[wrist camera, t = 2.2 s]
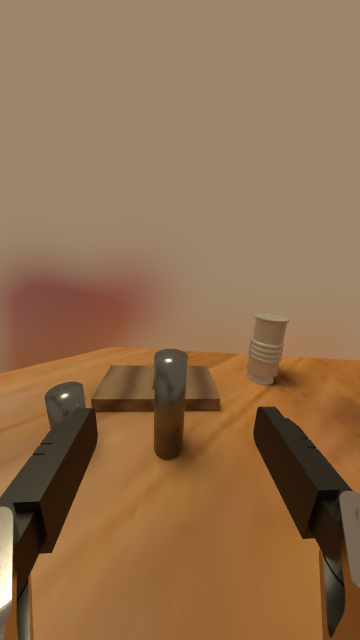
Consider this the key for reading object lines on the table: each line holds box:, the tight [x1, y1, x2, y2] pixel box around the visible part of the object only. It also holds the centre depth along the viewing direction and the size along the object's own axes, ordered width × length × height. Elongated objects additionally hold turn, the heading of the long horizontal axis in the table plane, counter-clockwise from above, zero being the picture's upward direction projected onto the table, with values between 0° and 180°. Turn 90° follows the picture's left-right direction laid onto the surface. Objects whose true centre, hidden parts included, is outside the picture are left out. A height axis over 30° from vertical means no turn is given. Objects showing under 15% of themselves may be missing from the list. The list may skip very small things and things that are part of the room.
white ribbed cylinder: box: [247, 313, 289, 385], centre depth 41 cm, size 7×7×15 cm
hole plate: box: [91, 366, 220, 412], centre depth 37 cm, size 22×11×2 cm, turn 93°
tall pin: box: [154, 349, 188, 460], centre depth 24 cm, size 4×4×14 cm
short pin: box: [45, 382, 85, 430], centre depth 24 cm, size 4×4×9 cm
